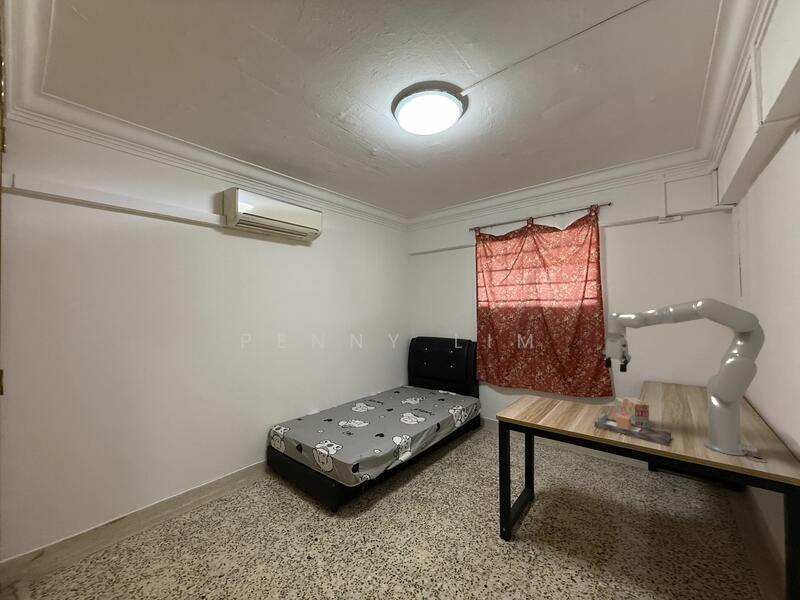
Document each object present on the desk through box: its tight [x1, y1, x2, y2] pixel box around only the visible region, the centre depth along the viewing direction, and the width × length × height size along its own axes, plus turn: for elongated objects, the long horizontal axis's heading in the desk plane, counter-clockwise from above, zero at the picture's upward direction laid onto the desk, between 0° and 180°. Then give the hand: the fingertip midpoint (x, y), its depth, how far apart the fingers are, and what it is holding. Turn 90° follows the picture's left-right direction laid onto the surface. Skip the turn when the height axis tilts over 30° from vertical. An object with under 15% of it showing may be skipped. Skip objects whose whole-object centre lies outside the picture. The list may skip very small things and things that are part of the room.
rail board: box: [594, 417, 672, 447], centre depth 150 cm, size 28×12×3 cm, turn 42°
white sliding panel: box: [597, 412, 641, 432], centre depth 154 cm, size 16×9×4 cm, turn 42°
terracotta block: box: [615, 415, 631, 429], centre depth 152 cm, size 5×5×5 cm
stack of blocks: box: [614, 396, 650, 428], centre depth 167 cm, size 21×6×12 cm, turn 169°
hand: (615, 369), depth 159 cm, fingers open, 9 cm apart
